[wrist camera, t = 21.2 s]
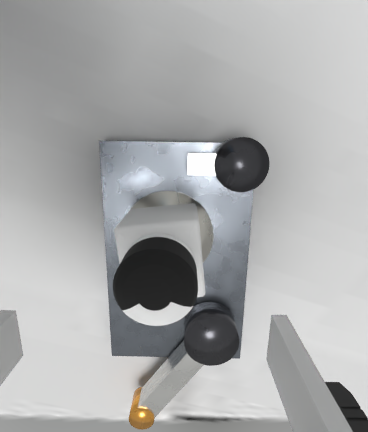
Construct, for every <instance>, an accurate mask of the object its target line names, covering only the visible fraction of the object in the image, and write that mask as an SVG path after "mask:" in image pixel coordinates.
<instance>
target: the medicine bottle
mask: <svg viewBox="0 0 368 432" xmlns="http://www.w3.org/2000/svg"><path fill="white" fill-rule="evenodd" d="M114 234H115V239H116V245H117V251H118V257H119V263H120V265H119V267H118V268H117V270H116V273H115V275H114V279H113V294H114V297H115V300H116V302H117V304H118V306H119V307H120V309H121V310H122V311H123V312H124V313H125V314H126V315H127V316H128V317H130V318H131V319H133V320H135V321H137V322H139V323H142V324H145V325H150V326H163V325H168V324H171V323H174V322H176V321H178V320H180V319H182V318H183V317H184V316H185V315H187V314H188V313H189V311H190V310H191V309H192V307H193V306H194V304H195V302H196V299H197V297H203V296H204V295H205V281H204V270H203V259H202V248H201V237H200V226H199V218H198V212H197V206H196V204H195V203H188V204H177V205H167V206H156V207H146V208H136V209H131V210H130V211H129V212H128V213H127V214H126V216H125V217H124V218H123V219H122V220H121V222H120V223H119V224H118V225H117V226H116V227H115V229H114Z"/></svg>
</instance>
